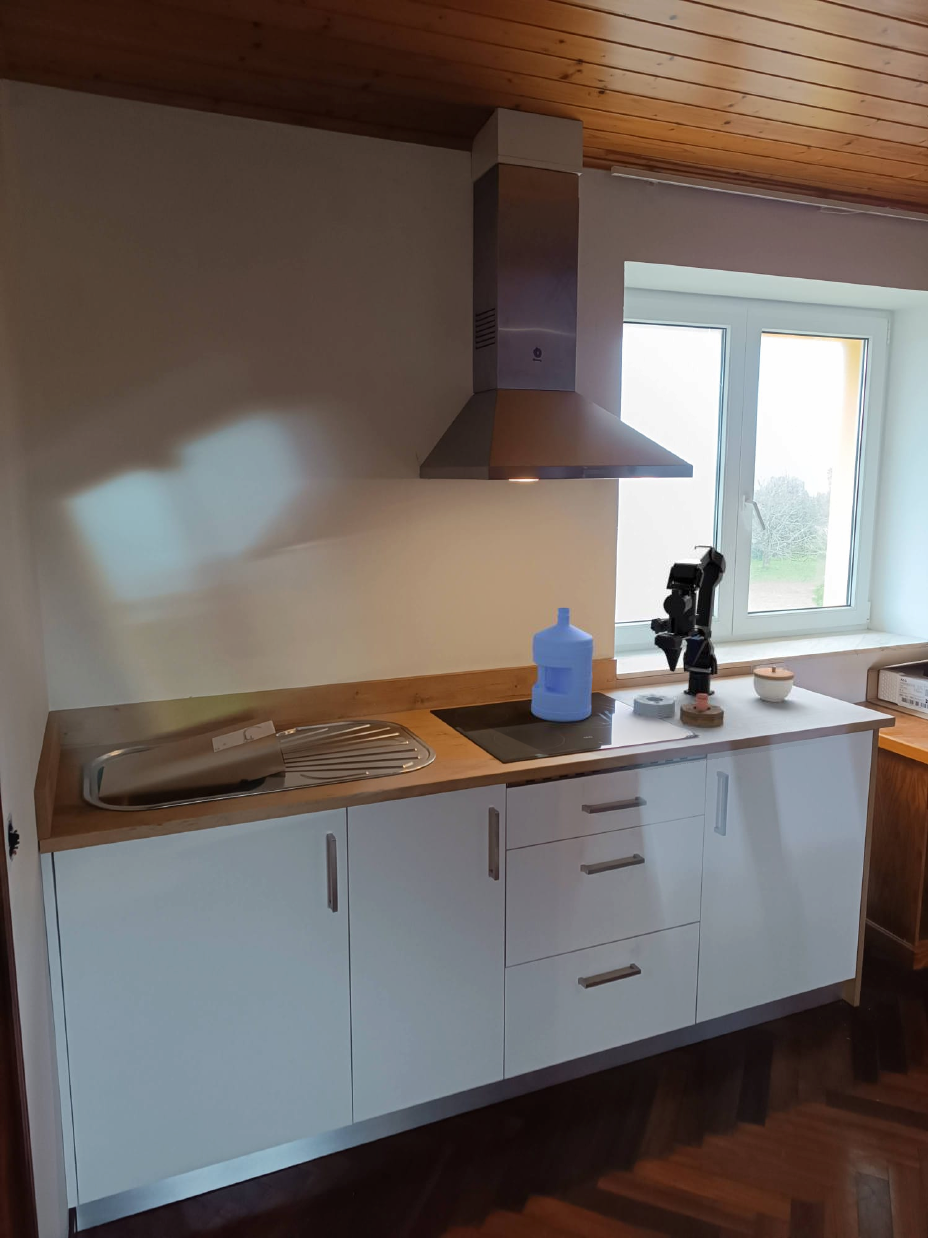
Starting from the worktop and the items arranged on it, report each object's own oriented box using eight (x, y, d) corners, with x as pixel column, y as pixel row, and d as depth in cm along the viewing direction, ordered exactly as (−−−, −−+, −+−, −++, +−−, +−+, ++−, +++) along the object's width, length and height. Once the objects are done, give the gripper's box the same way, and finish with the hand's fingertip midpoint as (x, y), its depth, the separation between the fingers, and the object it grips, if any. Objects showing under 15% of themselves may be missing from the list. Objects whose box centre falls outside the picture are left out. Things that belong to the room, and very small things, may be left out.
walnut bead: (695, 713, 225) (695, 700, 224) (729, 722, 218) (730, 708, 217) (673, 721, 218) (673, 707, 218) (707, 729, 211) (708, 716, 210)
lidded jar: (752, 702, 236) (754, 669, 235) (751, 692, 246) (753, 661, 245) (793, 705, 233) (796, 672, 232) (790, 695, 243) (793, 663, 242)
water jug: (564, 702, 235) (567, 602, 230) (603, 716, 222) (607, 610, 217) (519, 711, 226) (521, 606, 221) (556, 726, 213) (559, 615, 208)
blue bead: (640, 705, 233) (640, 692, 232) (677, 709, 228) (677, 697, 228) (630, 714, 224) (631, 701, 223) (668, 719, 220) (669, 706, 219)
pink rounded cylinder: (699, 719, 220) (700, 692, 219) (709, 721, 218) (710, 695, 217) (692, 721, 218) (694, 694, 217) (702, 723, 216) (704, 697, 215)
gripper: (677, 601, 235) (675, 657, 238) (638, 610, 222) (635, 669, 225) (714, 607, 227) (710, 664, 230) (675, 616, 214) (672, 676, 217)
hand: (682, 668), depth 226 cm, fingers open, 9 cm apart
